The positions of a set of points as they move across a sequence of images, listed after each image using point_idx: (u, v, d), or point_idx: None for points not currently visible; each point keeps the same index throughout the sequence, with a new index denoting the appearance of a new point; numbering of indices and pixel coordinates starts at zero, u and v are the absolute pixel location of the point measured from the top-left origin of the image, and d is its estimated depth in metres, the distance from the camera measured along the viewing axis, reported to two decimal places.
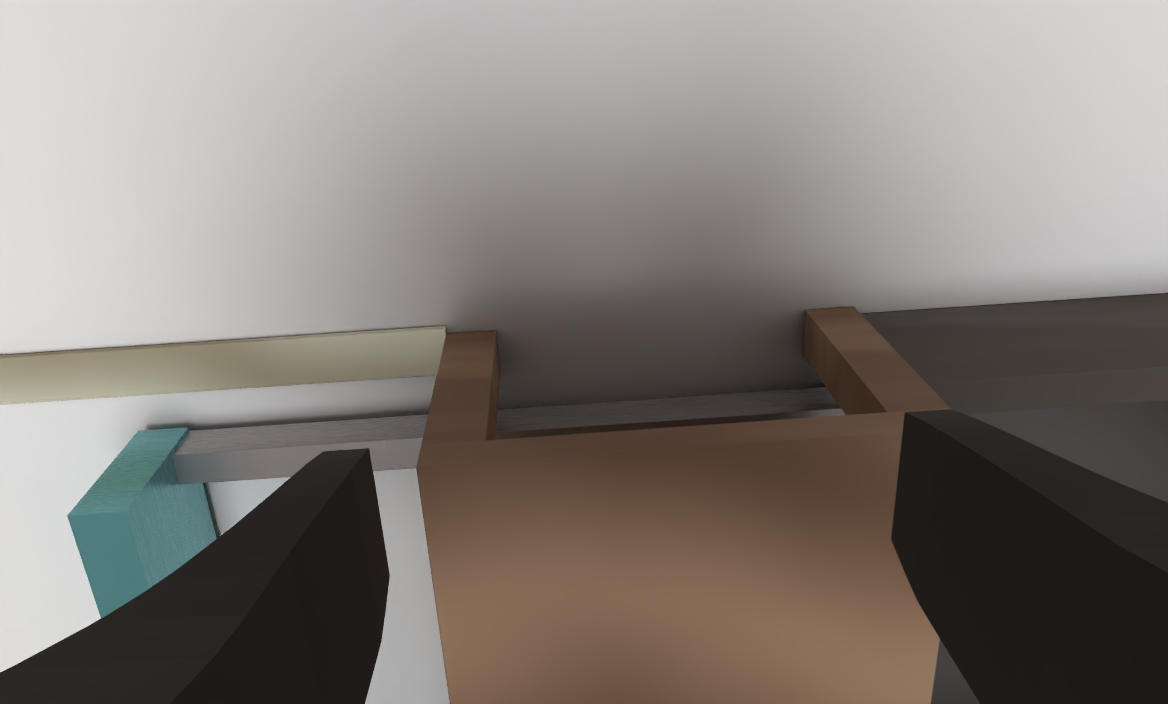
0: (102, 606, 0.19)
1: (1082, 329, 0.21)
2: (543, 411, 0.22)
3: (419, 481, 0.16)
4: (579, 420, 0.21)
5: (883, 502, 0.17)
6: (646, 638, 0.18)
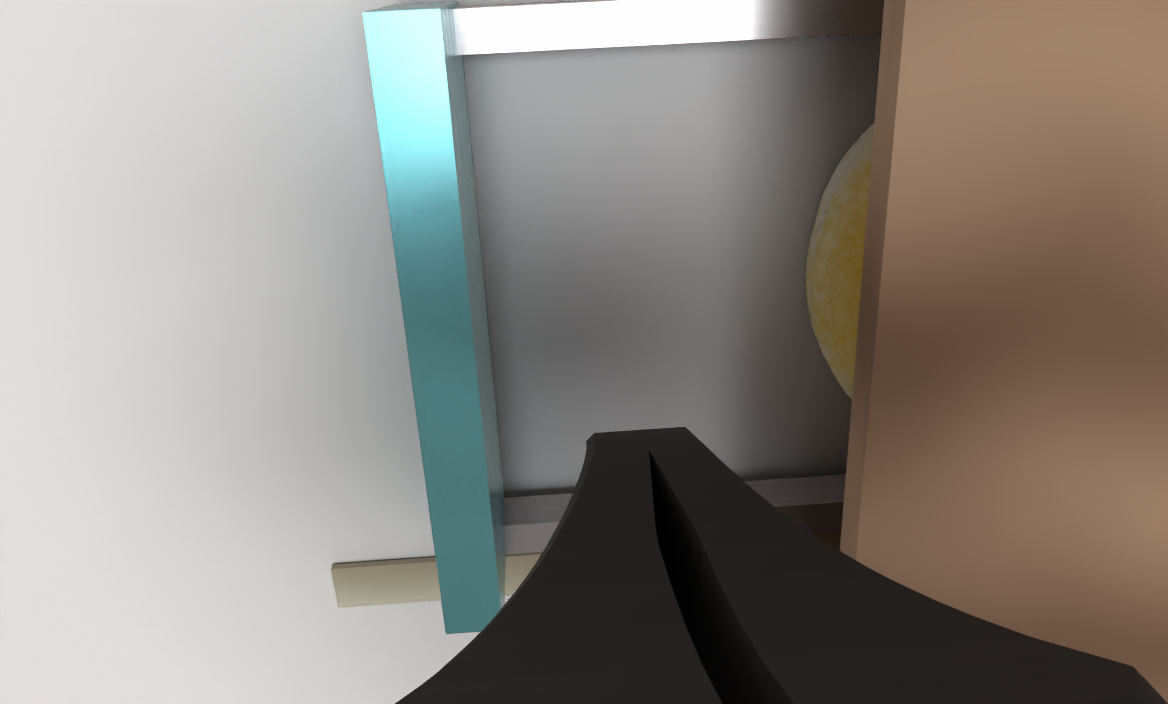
0: (389, 163, 0.15)
1: None
2: None
3: None
4: None
5: None
6: (1161, 150, 0.13)
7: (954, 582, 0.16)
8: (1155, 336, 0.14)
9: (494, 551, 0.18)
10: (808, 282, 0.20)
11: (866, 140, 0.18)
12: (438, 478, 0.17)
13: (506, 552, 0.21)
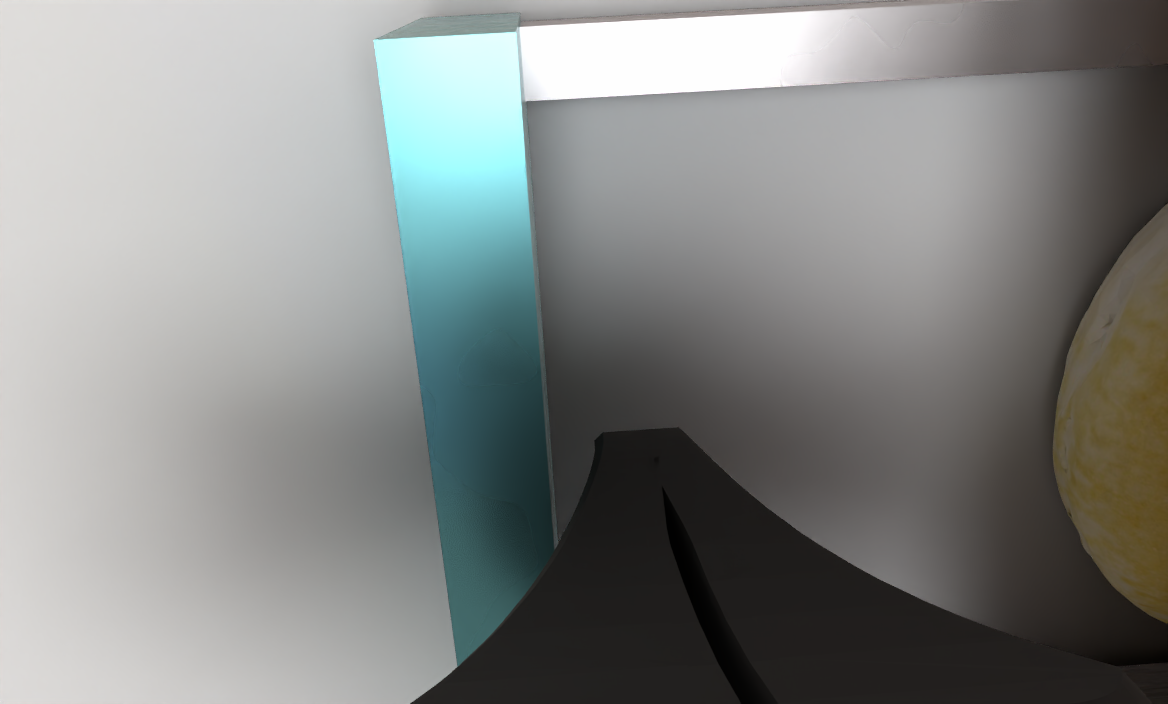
0: (420, 300, 0.08)
1: None
2: None
3: None
4: None
5: None
6: None
7: None
8: None
9: None
10: (1066, 424, 0.13)
11: None
12: None
13: None
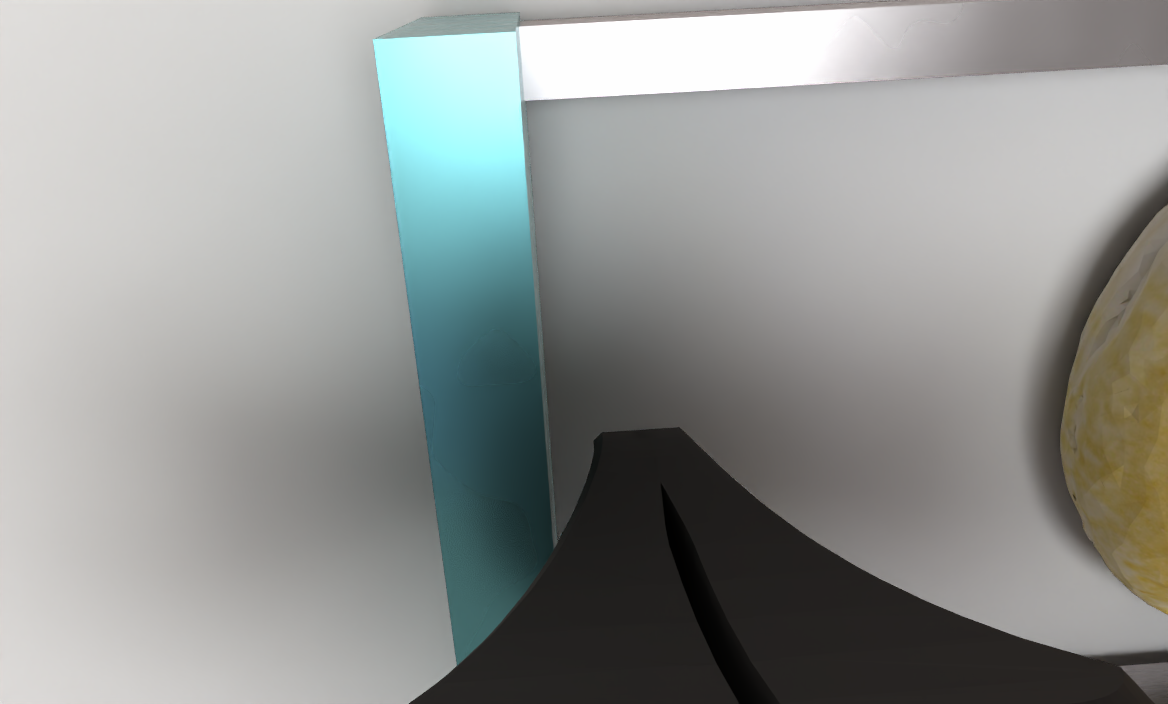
0: (419, 300, 0.08)
1: None
2: None
3: None
4: None
5: None
6: None
7: None
8: None
9: None
10: (1078, 402, 0.13)
11: None
12: None
13: None
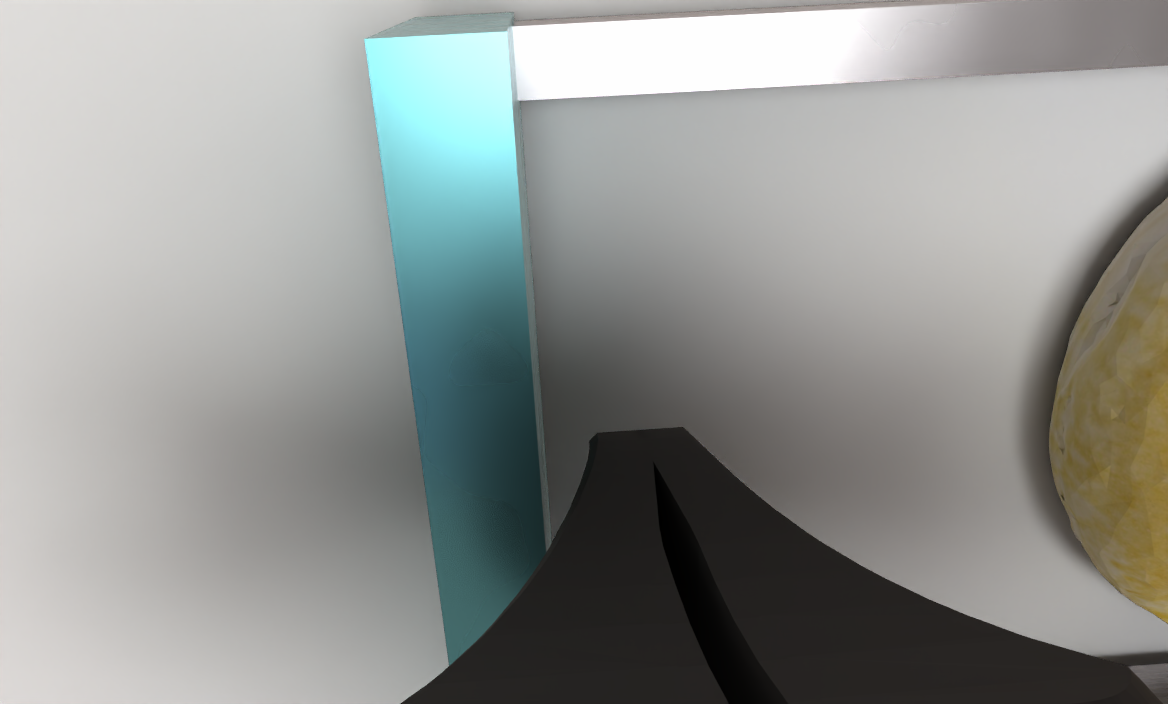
0: (411, 300, 0.08)
1: None
2: None
3: None
4: None
5: None
6: None
7: None
8: None
9: None
10: (1066, 403, 0.13)
11: None
12: None
13: None
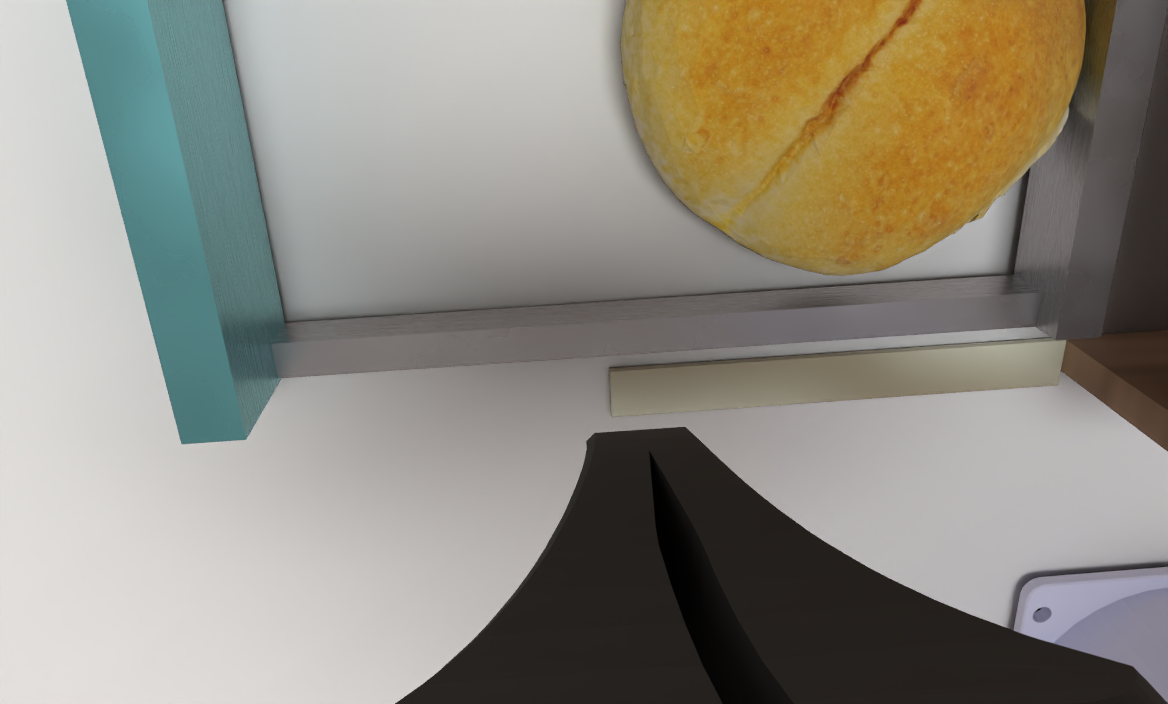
0: None
1: None
2: None
3: None
4: None
5: None
6: None
7: None
8: None
9: (224, 343, 0.16)
10: (622, 45, 0.18)
11: None
12: (147, 251, 0.15)
13: (278, 376, 0.19)
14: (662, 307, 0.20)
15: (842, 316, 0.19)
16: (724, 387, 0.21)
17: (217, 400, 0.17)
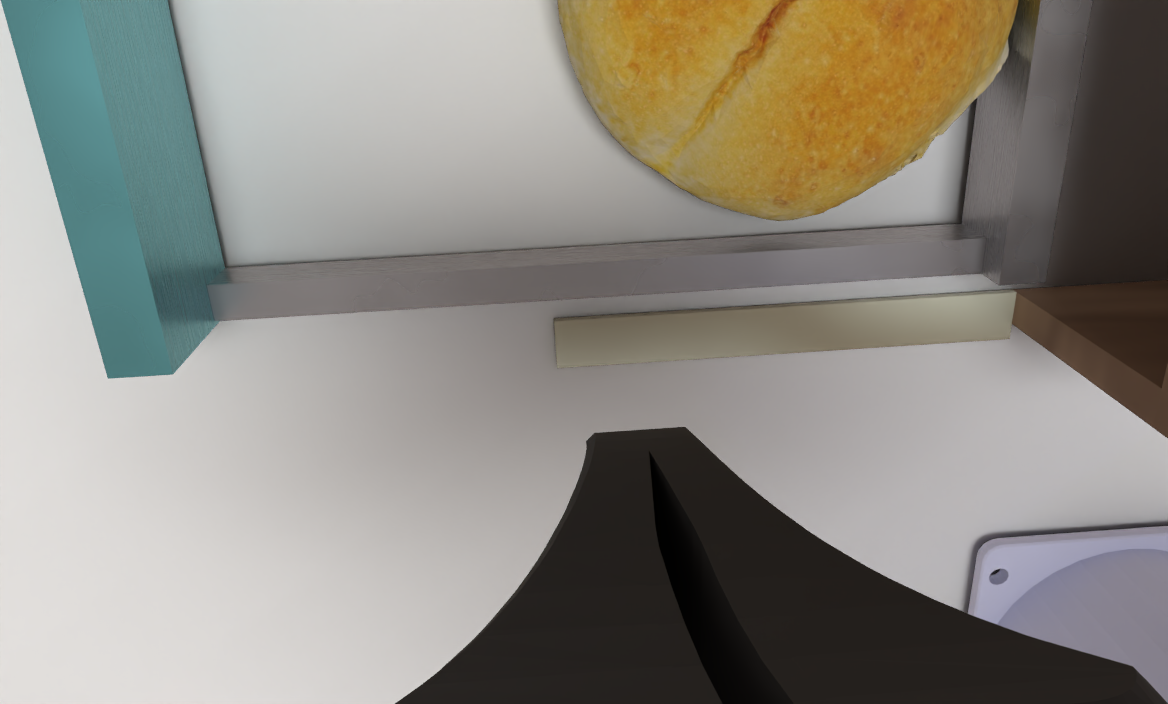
0: None
1: None
2: None
3: None
4: None
5: None
6: None
7: None
8: None
9: (148, 274, 0.16)
10: None
11: None
12: (66, 177, 0.15)
13: (215, 318, 0.19)
14: (603, 252, 0.20)
15: (784, 261, 0.19)
16: (670, 338, 0.21)
17: (142, 333, 0.16)
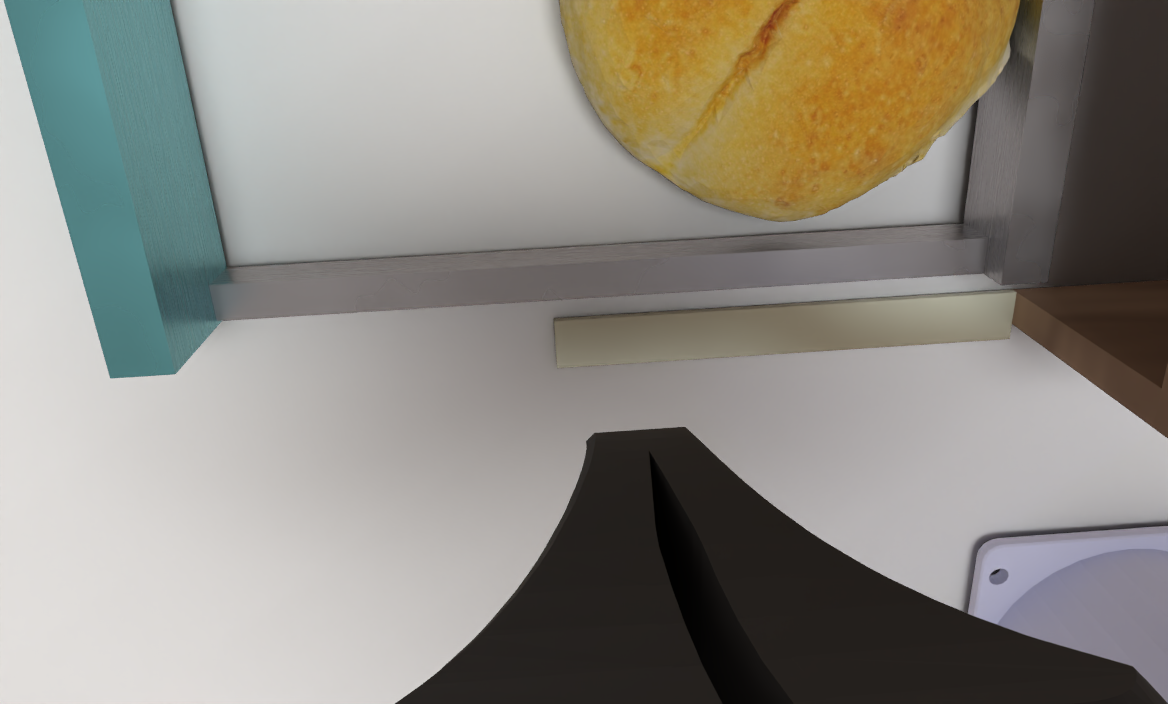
0: None
1: None
2: None
3: None
4: None
5: None
6: None
7: None
8: None
9: (150, 274, 0.16)
10: None
11: None
12: (69, 177, 0.15)
13: (217, 318, 0.19)
14: (605, 252, 0.20)
15: (786, 261, 0.19)
16: (670, 338, 0.21)
17: (145, 333, 0.16)
